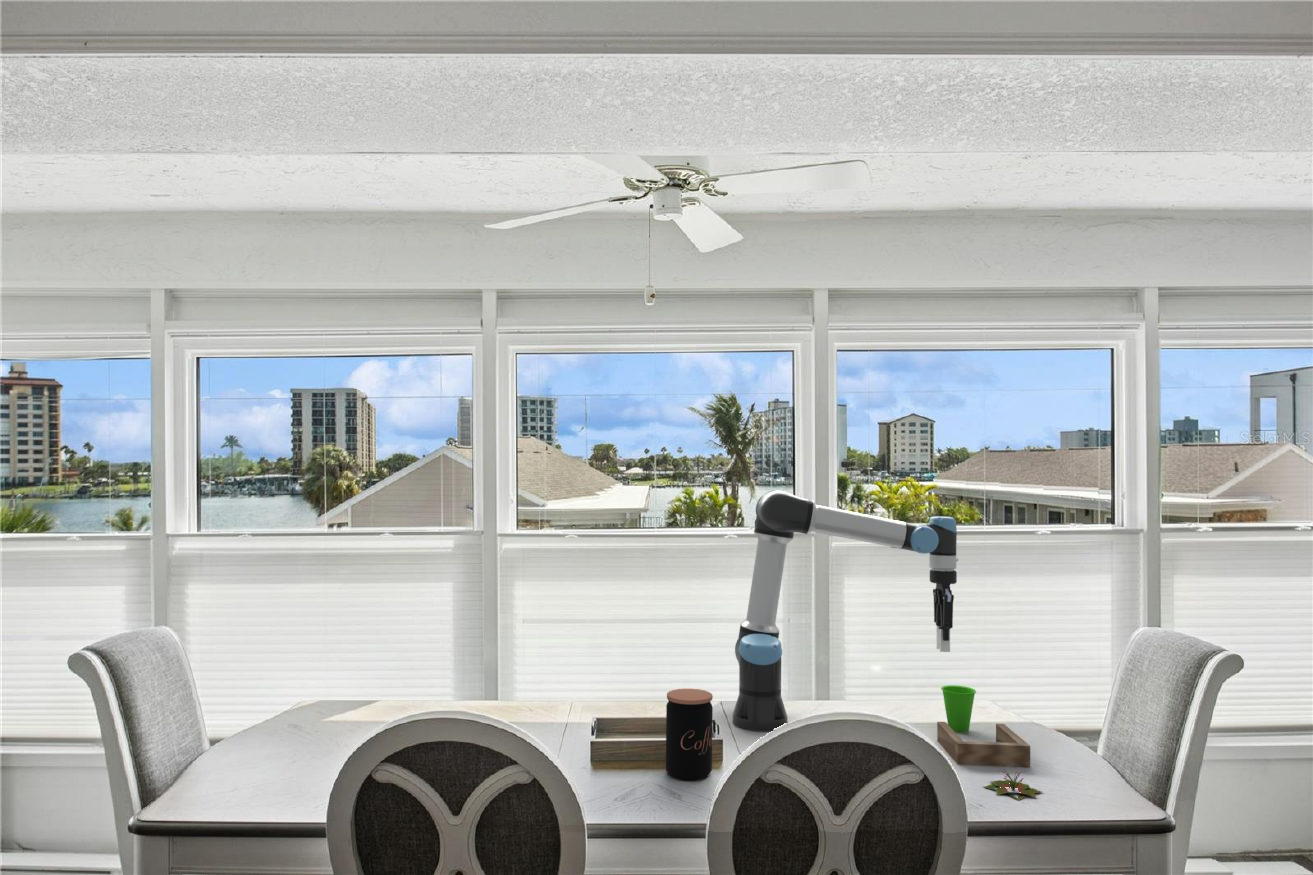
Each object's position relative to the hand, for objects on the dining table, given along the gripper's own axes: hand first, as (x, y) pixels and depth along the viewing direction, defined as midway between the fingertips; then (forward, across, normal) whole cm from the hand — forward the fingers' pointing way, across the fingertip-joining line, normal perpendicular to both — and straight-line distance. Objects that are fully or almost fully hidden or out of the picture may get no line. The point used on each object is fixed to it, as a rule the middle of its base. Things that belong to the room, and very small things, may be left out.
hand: (943, 650), depth 243 cm
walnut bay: (+19, -35, 0) cm, 40 cm away
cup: (+19, -15, 0) cm, 24 cm away
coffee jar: (+19, -56, +73) cm, 94 cm away
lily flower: (+19, -59, +1) cm, 62 cm away
